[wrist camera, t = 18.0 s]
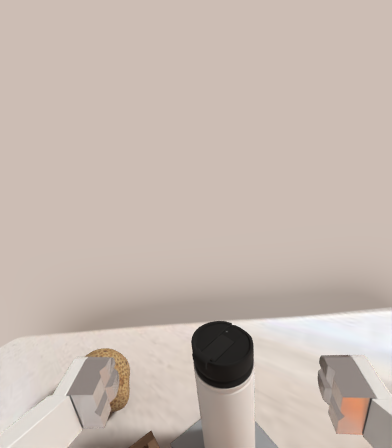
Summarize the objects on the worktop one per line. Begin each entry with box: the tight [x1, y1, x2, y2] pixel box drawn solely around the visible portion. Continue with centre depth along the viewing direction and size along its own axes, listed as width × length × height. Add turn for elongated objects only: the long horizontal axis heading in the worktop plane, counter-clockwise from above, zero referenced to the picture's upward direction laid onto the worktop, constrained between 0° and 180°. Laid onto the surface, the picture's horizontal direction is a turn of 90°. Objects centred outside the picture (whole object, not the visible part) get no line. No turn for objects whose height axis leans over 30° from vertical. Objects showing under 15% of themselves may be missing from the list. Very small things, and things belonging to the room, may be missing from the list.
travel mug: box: [191, 321, 255, 448], centre depth 29 cm, size 6×7×20 cm
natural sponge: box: [85, 348, 130, 412], centre depth 40 cm, size 9×9×10 cm
